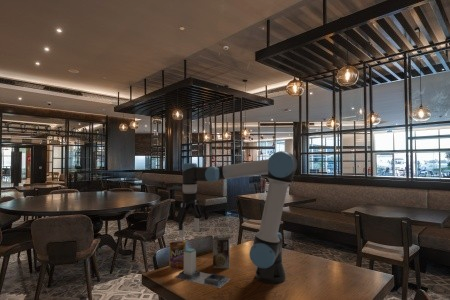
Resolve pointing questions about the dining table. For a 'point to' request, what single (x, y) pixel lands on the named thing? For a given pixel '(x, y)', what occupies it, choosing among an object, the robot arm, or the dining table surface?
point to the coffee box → (221, 252)
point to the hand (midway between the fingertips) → (189, 233)
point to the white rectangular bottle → (189, 261)
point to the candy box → (177, 254)
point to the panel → (205, 278)
